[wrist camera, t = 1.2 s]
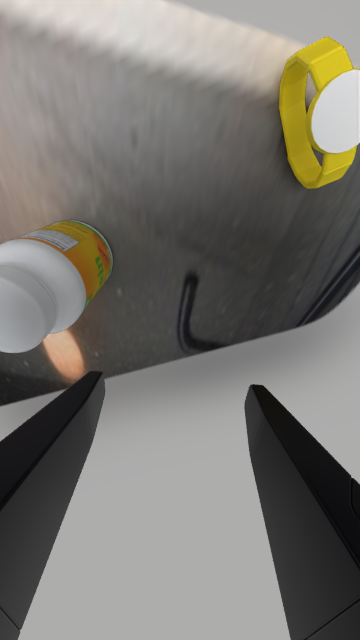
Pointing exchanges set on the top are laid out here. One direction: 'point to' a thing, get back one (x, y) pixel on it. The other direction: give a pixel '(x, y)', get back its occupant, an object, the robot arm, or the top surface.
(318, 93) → the watch
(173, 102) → the top surface
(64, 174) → the top surface
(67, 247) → the supplement bottle
